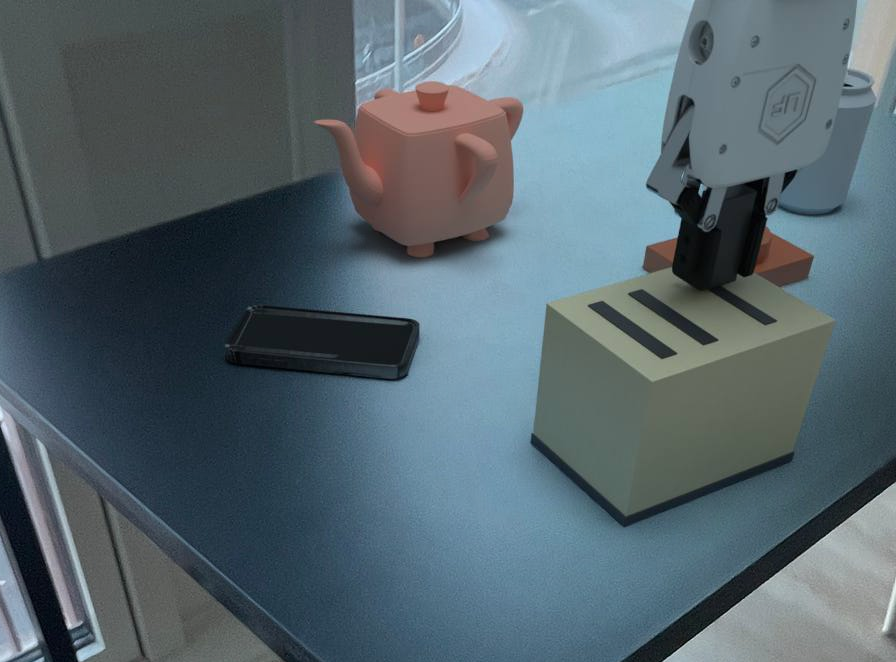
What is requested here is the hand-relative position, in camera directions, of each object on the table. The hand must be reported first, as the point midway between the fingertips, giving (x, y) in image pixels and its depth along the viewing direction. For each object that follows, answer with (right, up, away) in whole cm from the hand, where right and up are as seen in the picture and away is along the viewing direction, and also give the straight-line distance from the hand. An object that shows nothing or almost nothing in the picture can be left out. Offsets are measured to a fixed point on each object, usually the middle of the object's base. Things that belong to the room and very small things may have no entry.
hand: (712, 272), depth 67 cm
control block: (+9, +9, +25) cm, 28 cm away
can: (+20, +20, +37) cm, 47 cm away
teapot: (-19, +15, +31) cm, 40 cm away
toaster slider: (0, 0, 0) cm, 1 cm away
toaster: (-2, -11, +6) cm, 13 cm away
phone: (-27, 0, +16) cm, 32 cm away
